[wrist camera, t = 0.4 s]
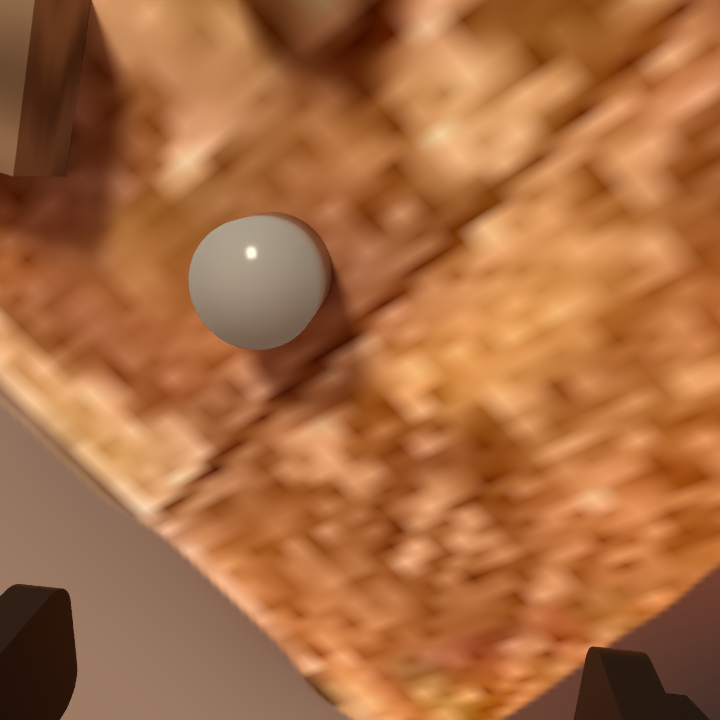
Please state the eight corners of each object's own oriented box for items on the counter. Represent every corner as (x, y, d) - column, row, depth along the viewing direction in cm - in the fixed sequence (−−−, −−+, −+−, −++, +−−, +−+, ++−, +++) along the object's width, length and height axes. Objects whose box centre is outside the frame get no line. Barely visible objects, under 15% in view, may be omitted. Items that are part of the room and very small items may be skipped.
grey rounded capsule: (233, 197, 35) (204, 200, 30) (346, 232, 35) (335, 241, 30) (207, 307, 37) (176, 327, 32) (314, 341, 37) (299, 366, 32)
